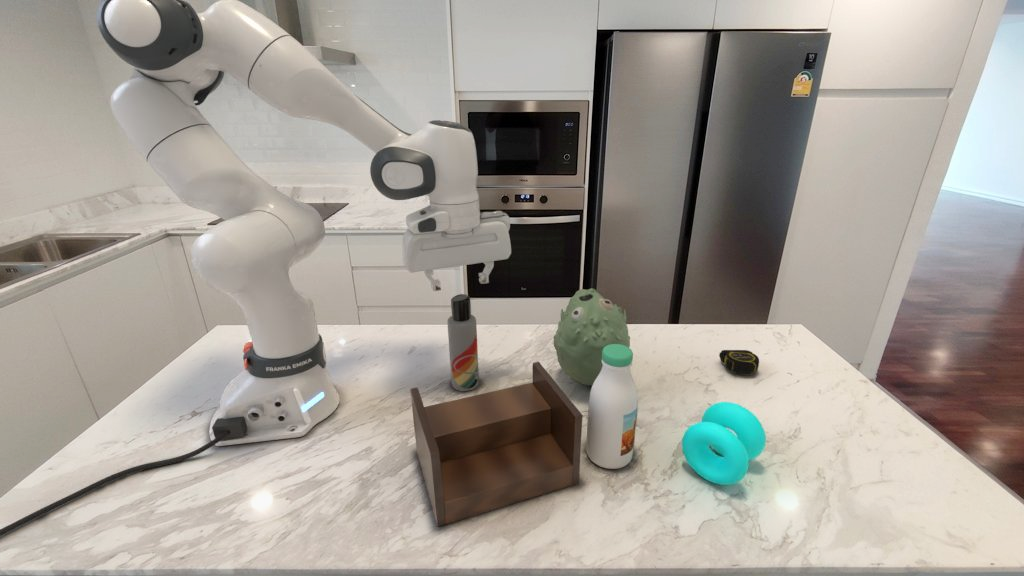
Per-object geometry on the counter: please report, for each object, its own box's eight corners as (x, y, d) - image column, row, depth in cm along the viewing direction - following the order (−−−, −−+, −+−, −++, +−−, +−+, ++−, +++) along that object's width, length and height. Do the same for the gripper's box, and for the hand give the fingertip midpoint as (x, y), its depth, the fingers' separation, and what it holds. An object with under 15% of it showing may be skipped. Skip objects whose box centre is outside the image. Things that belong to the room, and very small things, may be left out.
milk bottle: (604, 477, 76) (613, 368, 68) (576, 447, 82) (582, 345, 75) (642, 460, 79) (654, 355, 72) (612, 433, 86) (621, 334, 78)
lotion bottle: (474, 393, 97) (470, 303, 90) (448, 390, 98) (441, 301, 91) (481, 377, 102) (478, 291, 95) (456, 375, 104) (451, 289, 96)
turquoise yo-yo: (762, 465, 78) (774, 415, 74) (737, 501, 71) (749, 447, 67) (702, 437, 84) (710, 389, 81) (675, 467, 78) (682, 416, 74)
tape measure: (749, 362, 107) (752, 347, 106) (762, 379, 101) (765, 363, 99) (717, 361, 108) (720, 346, 106) (729, 378, 101) (731, 363, 100)
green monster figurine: (618, 356, 110) (625, 275, 102) (636, 406, 93) (646, 313, 85) (550, 356, 110) (552, 275, 103) (555, 406, 93) (557, 313, 85)
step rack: (437, 527, 68) (430, 454, 63) (417, 453, 81) (409, 388, 76) (578, 483, 75) (582, 414, 70) (538, 422, 89) (538, 361, 84)
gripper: (503, 206, 93) (505, 273, 98) (396, 217, 86) (405, 288, 91) (515, 213, 87) (516, 283, 92) (402, 225, 81) (410, 300, 86)
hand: (460, 286), depth 92 cm, fingers open, 8 cm apart
